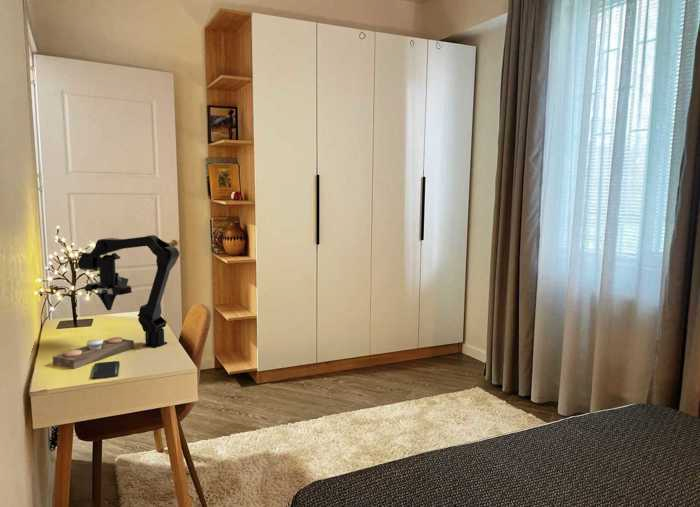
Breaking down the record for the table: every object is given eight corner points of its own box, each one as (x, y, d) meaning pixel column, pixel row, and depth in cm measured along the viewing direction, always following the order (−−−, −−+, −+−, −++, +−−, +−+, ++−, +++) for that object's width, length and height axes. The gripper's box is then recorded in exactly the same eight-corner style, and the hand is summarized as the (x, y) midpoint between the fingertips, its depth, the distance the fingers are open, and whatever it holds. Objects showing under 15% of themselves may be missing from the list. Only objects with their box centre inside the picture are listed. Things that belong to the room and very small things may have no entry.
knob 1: (85, 361, 182) (85, 351, 182) (72, 366, 177) (72, 355, 177) (75, 359, 184) (74, 349, 184) (61, 364, 179) (61, 353, 179)
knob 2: (126, 347, 199) (125, 338, 198) (115, 351, 194) (114, 341, 193) (115, 346, 201) (115, 336, 200) (104, 349, 196) (104, 340, 195)
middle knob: (106, 350, 190) (106, 340, 190) (94, 354, 185) (94, 344, 185) (96, 348, 192) (95, 338, 192) (84, 352, 187) (83, 342, 187)
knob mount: (133, 348, 199) (133, 340, 199) (74, 368, 175) (73, 360, 175) (114, 345, 203) (113, 337, 202) (53, 364, 179) (52, 356, 179)
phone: (119, 360, 182) (118, 374, 168) (119, 363, 182) (118, 377, 168) (94, 363, 179) (90, 377, 165) (94, 366, 179) (90, 380, 165)
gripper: (141, 269, 207) (142, 308, 209) (106, 266, 214) (108, 304, 216) (119, 273, 197) (120, 314, 198) (83, 270, 204) (85, 309, 206)
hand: (109, 310), depth 205 cm, fingers closed
